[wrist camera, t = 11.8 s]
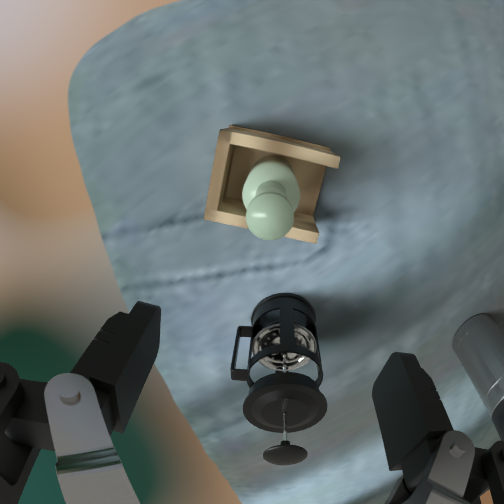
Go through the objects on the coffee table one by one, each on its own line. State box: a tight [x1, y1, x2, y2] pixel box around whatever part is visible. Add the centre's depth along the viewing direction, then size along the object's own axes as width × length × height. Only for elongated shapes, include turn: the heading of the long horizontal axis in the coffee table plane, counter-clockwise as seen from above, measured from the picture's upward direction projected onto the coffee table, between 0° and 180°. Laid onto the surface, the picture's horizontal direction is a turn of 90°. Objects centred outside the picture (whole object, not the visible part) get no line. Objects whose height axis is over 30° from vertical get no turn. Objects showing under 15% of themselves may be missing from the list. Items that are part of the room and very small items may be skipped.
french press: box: [231, 293, 327, 465], centre depth 35 cm, size 12×9×23 cm
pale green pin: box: [242, 156, 300, 240], centre depth 29 cm, size 5×5×16 cm
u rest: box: [204, 125, 341, 244], centre depth 34 cm, size 12×10×7 cm
